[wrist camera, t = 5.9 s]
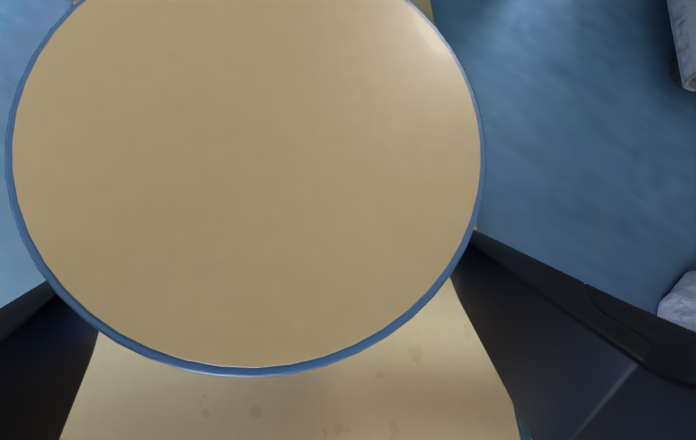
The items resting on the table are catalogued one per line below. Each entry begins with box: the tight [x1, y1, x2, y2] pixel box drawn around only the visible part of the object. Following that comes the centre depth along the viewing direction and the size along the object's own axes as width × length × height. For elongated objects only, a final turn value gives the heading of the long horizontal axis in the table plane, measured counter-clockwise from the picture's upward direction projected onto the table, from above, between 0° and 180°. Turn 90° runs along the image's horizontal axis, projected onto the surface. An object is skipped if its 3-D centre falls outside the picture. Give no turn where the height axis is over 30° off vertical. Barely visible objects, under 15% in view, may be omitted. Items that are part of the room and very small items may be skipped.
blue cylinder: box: [5, 0, 486, 378], centre depth 11 cm, size 10×10×8 cm
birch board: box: [59, 0, 521, 440], centre depth 15 cm, size 27×18×1 cm, turn 7°
